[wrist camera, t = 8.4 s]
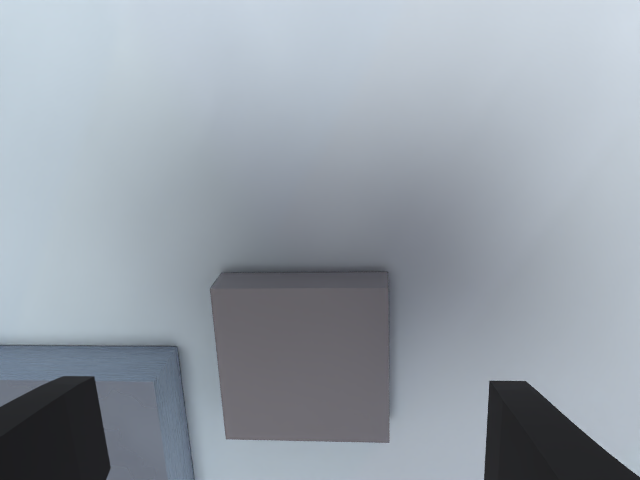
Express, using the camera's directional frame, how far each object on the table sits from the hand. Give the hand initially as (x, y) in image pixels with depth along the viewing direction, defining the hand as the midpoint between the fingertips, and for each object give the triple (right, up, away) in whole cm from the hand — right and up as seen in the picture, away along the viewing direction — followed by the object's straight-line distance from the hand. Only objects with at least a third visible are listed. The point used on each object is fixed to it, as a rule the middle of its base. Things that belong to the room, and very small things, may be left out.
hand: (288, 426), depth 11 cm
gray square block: (0, -1, +11) cm, 11 cm away
